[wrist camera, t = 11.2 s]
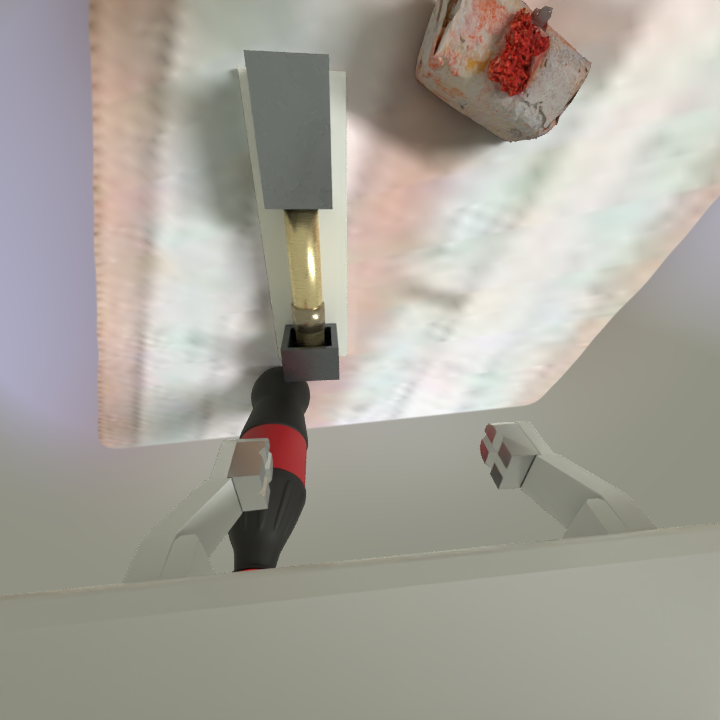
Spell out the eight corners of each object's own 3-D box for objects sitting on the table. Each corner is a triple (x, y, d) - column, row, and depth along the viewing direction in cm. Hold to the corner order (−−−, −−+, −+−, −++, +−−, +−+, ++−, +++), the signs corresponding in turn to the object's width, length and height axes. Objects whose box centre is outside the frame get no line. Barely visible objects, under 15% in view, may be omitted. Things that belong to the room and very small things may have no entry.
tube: (281, 191, 34) (277, 196, 31) (319, 191, 34) (319, 196, 31) (297, 348, 45) (295, 364, 42) (326, 347, 45) (327, 363, 42)
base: (239, 68, 30) (237, 66, 29) (345, 73, 31) (346, 71, 30) (279, 355, 48) (278, 358, 47) (346, 352, 49) (347, 355, 48)
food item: (398, 82, 32) (426, 61, 24) (441, -25, 28) (490, -94, 20) (504, 150, 36) (558, 151, 28) (553, 64, 32) (631, 36, 24)
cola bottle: (247, 394, 51) (180, 628, 26) (266, 353, 47) (207, 581, 23) (298, 409, 54) (279, 634, 29) (319, 372, 50) (318, 593, 25)
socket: (285, 324, 44) (280, 350, 39) (336, 323, 45) (338, 348, 39) (288, 354, 47) (284, 382, 41) (337, 352, 48) (339, 379, 42)
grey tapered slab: (257, 67, 30) (243, 50, 24) (327, 70, 30) (328, 54, 25) (272, 199, 36) (264, 209, 30) (330, 200, 36) (332, 209, 31)
